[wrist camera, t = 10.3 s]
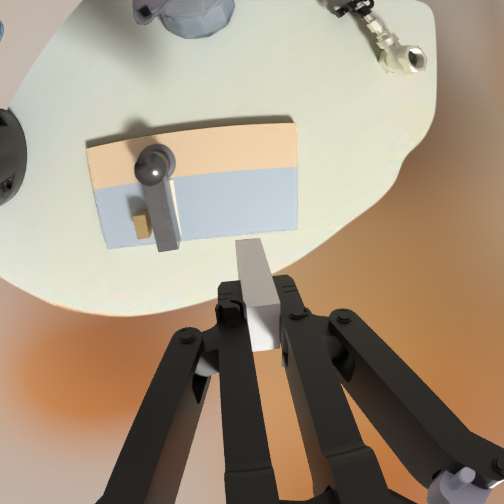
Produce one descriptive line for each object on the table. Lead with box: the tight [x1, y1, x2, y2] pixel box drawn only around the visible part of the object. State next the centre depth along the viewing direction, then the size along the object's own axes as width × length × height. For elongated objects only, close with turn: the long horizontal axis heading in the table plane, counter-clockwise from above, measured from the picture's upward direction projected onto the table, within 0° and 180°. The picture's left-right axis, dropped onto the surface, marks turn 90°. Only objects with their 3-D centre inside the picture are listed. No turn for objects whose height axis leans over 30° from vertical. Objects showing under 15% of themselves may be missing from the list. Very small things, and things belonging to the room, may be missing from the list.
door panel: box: [86, 123, 298, 249], centre depth 36 cm, size 26×14×1 cm, turn 93°
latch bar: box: [134, 149, 181, 252], centre depth 33 cm, size 12×4×4 cm, turn 6°
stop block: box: [133, 208, 153, 239], centre depth 35 cm, size 2×3×2 cm, turn 3°
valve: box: [334, 0, 427, 75], centre depth 26 cm, size 7×7×12 cm
